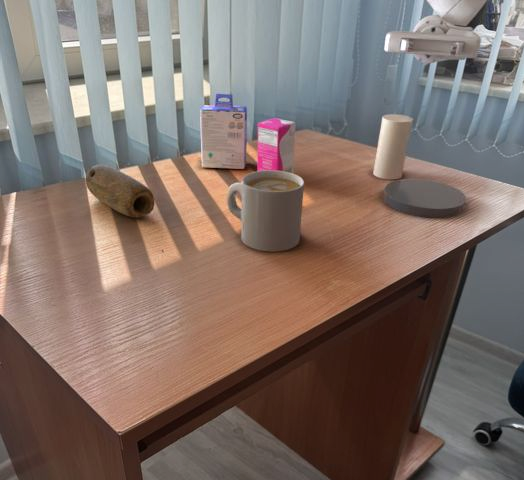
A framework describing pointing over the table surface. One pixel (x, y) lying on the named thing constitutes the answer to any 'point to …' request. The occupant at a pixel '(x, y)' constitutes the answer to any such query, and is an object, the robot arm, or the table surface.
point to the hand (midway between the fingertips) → (432, 48)
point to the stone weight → (119, 191)
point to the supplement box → (276, 145)
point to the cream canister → (392, 146)
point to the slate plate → (424, 198)
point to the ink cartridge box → (223, 134)
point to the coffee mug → (269, 209)
